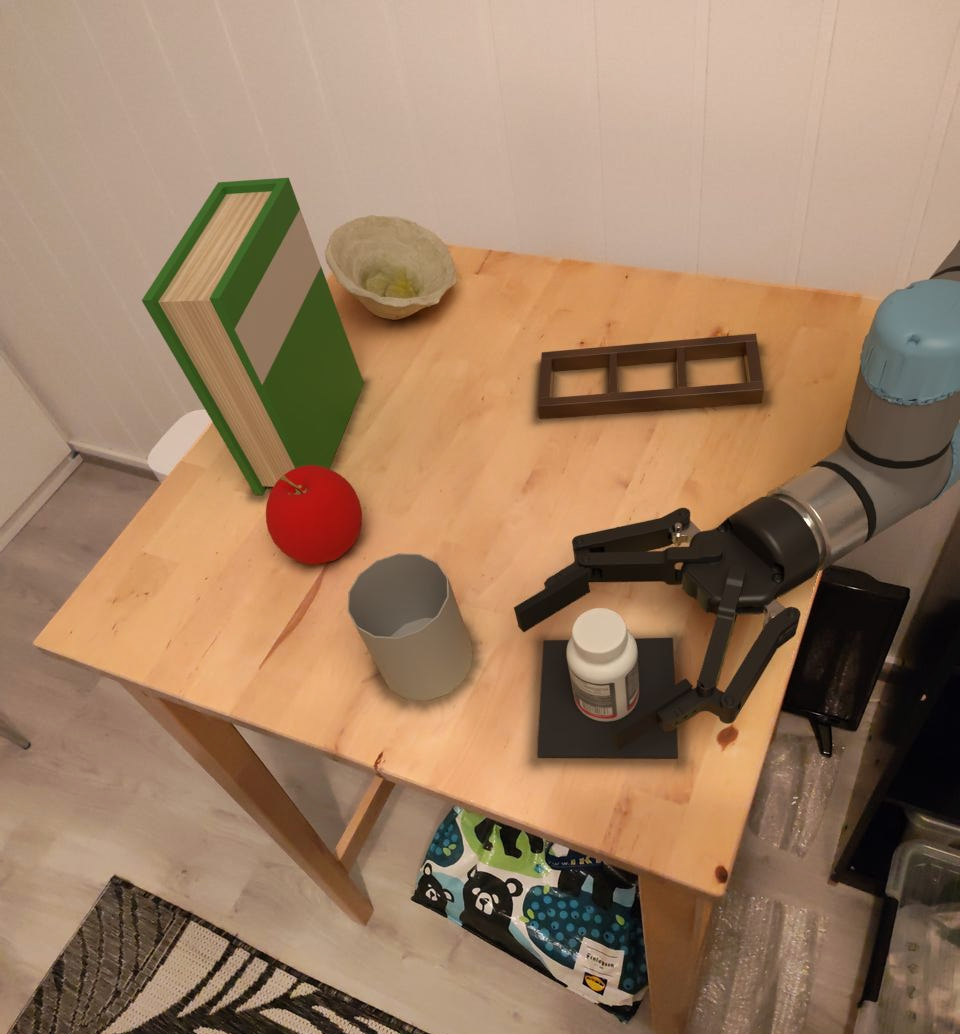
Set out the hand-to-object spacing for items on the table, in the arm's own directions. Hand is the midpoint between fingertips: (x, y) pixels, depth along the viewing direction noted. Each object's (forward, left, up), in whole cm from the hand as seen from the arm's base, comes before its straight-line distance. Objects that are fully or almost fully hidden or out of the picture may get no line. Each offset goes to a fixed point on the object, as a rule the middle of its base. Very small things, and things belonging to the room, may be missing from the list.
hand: (563, 676), depth 63 cm
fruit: (+25, -20, -7) cm, 33 cm away
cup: (+13, -6, -7) cm, 16 cm away
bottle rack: (-7, -40, -7) cm, 41 cm away
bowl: (+22, -57, -7) cm, 62 cm away
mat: (-3, -2, -7) cm, 8 cm away
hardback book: (+30, -36, -7) cm, 47 cm away
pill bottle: (-3, -2, -7) cm, 8 cm away
